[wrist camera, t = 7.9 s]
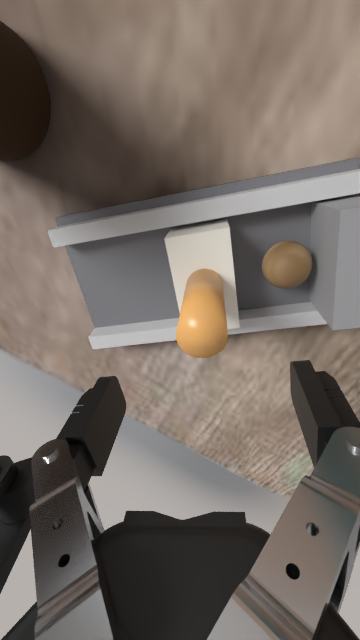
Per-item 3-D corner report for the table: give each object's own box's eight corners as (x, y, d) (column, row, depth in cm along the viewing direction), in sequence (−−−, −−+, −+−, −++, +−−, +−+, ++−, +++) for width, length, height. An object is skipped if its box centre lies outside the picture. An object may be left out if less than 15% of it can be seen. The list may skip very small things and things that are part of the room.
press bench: (351, 158, 23) (407, 154, 17) (339, 311, 29) (377, 352, 23) (62, 215, 28) (15, 230, 21) (105, 338, 34) (80, 379, 27)
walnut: (304, 232, 25) (320, 243, 21) (304, 276, 27) (318, 292, 23) (257, 240, 25) (265, 251, 22) (260, 282, 27) (267, 298, 24)
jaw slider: (226, 219, 25) (238, 256, 14) (236, 308, 28) (251, 390, 18) (170, 229, 25) (142, 271, 15) (187, 314, 29) (173, 395, 19)
